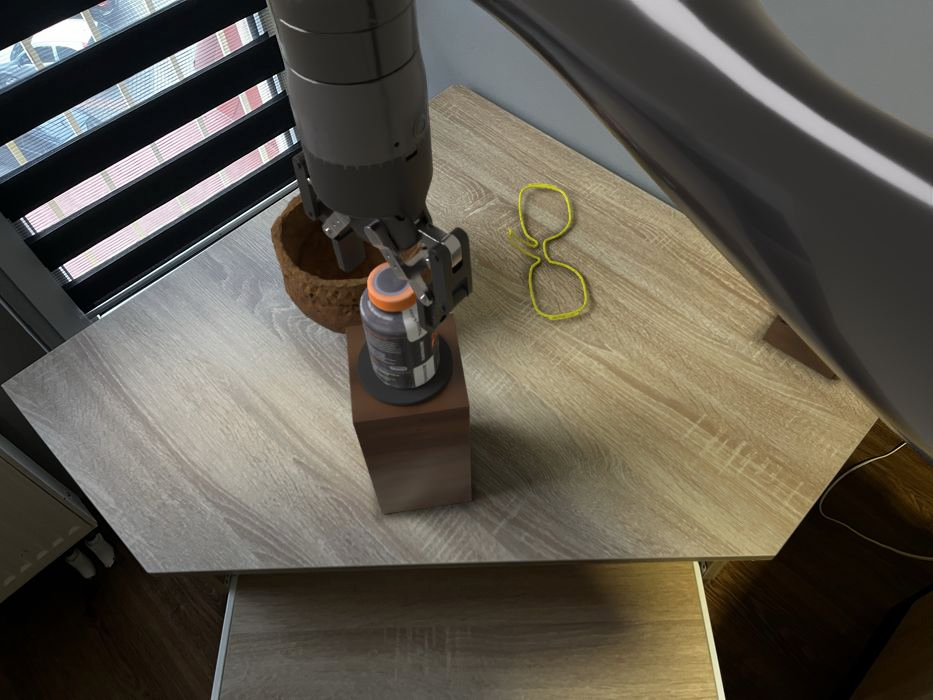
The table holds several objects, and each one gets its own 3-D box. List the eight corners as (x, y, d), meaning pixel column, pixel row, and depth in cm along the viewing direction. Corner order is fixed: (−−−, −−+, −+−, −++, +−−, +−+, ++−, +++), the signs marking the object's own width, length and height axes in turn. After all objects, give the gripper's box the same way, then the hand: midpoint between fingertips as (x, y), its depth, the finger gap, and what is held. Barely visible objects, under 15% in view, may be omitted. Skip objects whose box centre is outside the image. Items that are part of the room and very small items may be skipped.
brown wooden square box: (861, 333, 89) (876, 314, 86) (829, 379, 86) (844, 362, 82) (795, 296, 93) (807, 277, 89) (761, 339, 89) (772, 321, 86)
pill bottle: (450, 377, 60) (444, 297, 51) (384, 400, 59) (366, 322, 50) (426, 325, 63) (417, 240, 54) (364, 345, 62) (343, 263, 53)
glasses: (591, 322, 91) (596, 300, 87) (515, 327, 91) (517, 304, 87) (565, 187, 105) (568, 163, 101) (499, 190, 104) (500, 166, 100)
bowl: (318, 243, 99) (295, 162, 87) (448, 258, 97) (444, 177, 85) (278, 353, 89) (245, 279, 76) (422, 371, 87) (413, 299, 75)
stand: (471, 501, 78) (469, 406, 59) (382, 514, 77) (352, 422, 59) (458, 422, 83) (453, 312, 65) (375, 434, 82) (345, 326, 64)
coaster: (459, 399, 60) (458, 395, 59) (361, 413, 59) (360, 409, 59) (445, 320, 64) (445, 316, 64) (354, 332, 64) (353, 329, 63)
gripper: (231, 96, 41) (293, 274, 54) (407, 212, 35) (427, 377, 49) (326, 38, 44) (362, 220, 57) (502, 136, 38) (495, 311, 52)
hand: (392, 292), depth 53 cm, fingers open, 8 cm apart
